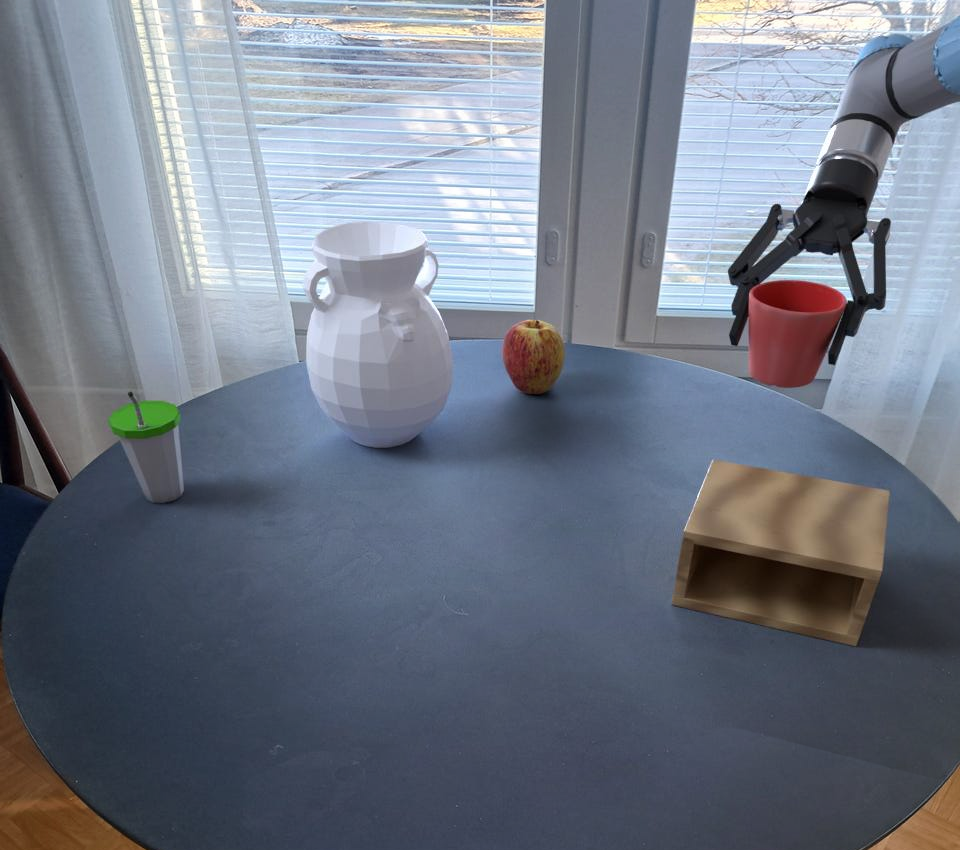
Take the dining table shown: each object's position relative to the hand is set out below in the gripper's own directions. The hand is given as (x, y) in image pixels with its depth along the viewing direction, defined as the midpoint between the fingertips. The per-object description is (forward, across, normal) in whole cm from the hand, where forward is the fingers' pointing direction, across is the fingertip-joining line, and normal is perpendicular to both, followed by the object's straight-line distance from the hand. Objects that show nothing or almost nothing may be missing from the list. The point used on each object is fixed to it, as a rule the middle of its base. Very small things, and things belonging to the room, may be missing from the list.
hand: (781, 350), depth 105 cm
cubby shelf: (+28, -9, +7) cm, 30 cm away
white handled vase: (+22, +46, +2) cm, 51 cm away
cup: (+41, +60, +21) cm, 75 cm away
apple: (+7, +35, -13) cm, 38 cm away
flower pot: (+1, 0, -5) cm, 5 cm away
